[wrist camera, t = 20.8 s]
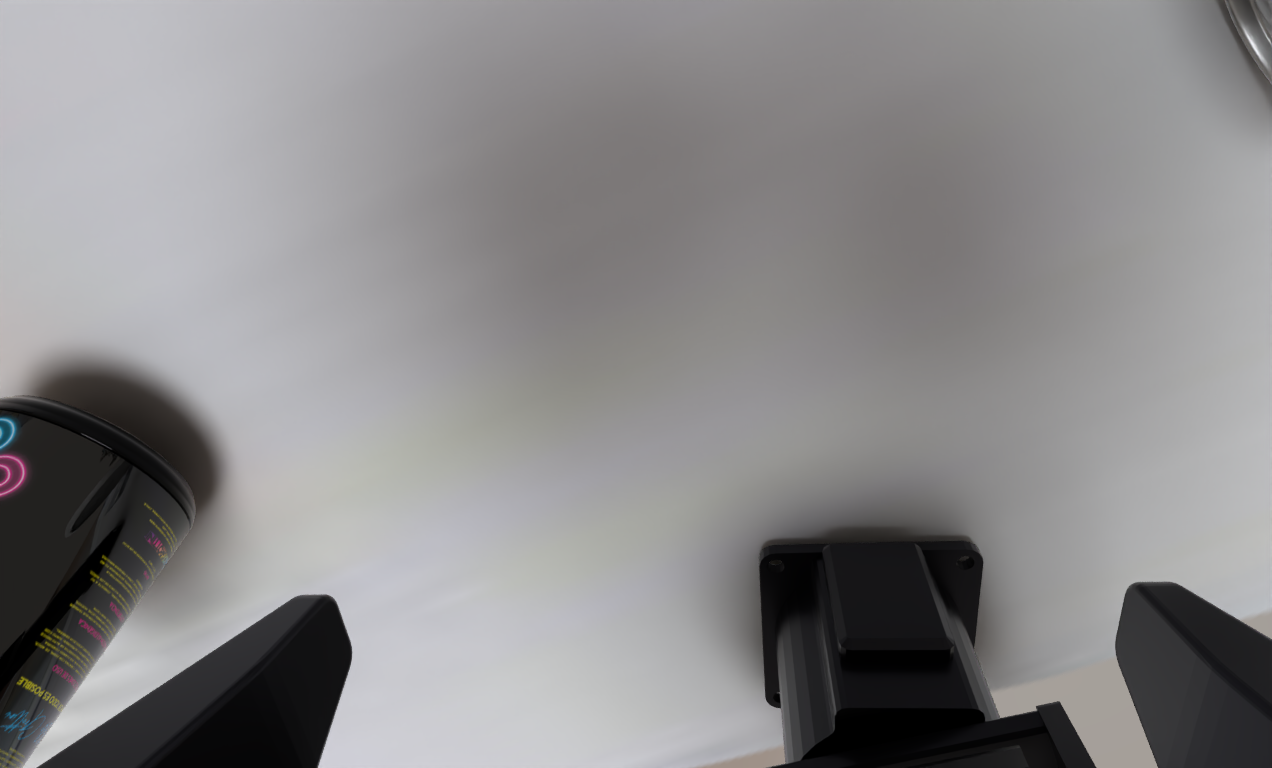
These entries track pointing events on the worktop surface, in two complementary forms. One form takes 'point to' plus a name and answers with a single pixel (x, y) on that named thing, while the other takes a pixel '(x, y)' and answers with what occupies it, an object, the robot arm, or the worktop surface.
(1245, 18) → the can
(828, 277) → the worktop surface
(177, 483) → the supplement container
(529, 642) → the worktop surface
